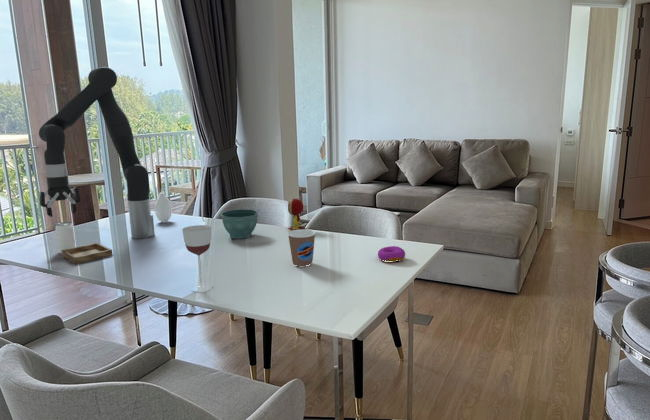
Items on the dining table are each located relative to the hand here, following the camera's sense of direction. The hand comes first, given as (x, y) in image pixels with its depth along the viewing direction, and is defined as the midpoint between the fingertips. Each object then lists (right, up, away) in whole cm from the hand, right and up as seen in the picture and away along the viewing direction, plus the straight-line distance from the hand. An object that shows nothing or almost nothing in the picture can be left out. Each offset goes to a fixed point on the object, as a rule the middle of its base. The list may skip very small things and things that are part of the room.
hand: (62, 214), depth 195 cm
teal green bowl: (+69, -10, +22) cm, 73 cm away
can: (0, -16, +3) cm, 16 cm away
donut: (+132, -17, -15) cm, 134 cm away
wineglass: (+67, -24, -40) cm, 81 cm away
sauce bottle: (+24, -5, +52) cm, 57 cm away
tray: (+12, -16, -3) cm, 20 cm away
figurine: (+94, -8, +31) cm, 99 cm away
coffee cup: (+99, -18, -18) cm, 102 cm away
